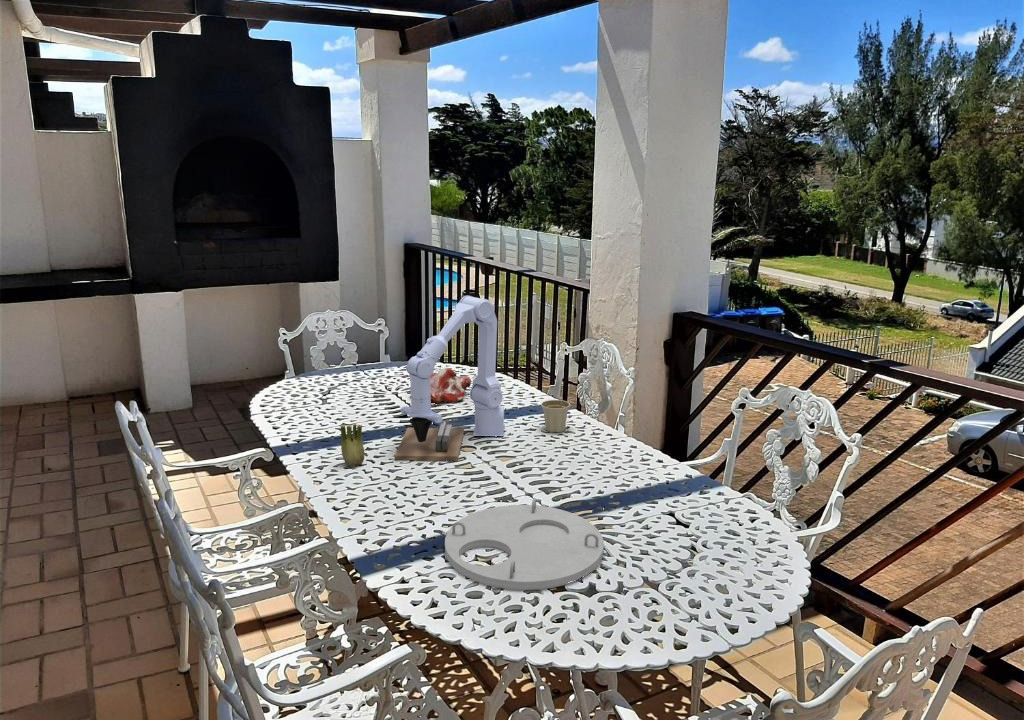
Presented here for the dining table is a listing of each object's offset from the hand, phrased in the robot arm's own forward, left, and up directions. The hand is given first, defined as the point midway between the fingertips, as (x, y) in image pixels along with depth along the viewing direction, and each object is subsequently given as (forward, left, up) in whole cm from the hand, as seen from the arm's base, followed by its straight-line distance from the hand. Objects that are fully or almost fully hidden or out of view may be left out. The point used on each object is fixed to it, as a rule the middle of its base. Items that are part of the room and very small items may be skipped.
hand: (421, 441), depth 216 cm
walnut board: (-2, -4, -3) cm, 5 cm away
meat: (0, -54, -3) cm, 54 cm away
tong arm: (-5, -4, -1) cm, 7 cm away
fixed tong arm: (-7, -2, -1) cm, 8 cm away
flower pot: (-40, -20, -3) cm, 45 cm away
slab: (-30, +57, -4) cm, 65 cm away
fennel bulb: (+18, +11, -3) cm, 21 cm away
